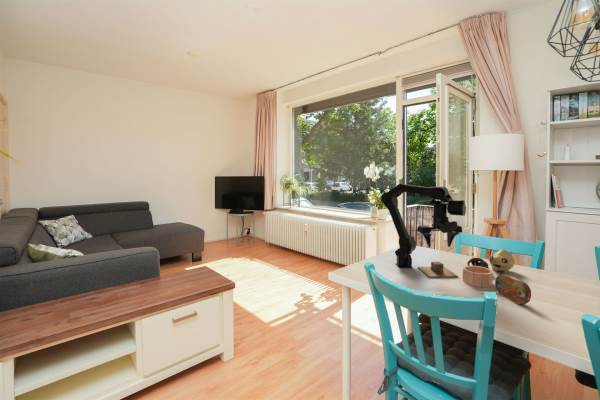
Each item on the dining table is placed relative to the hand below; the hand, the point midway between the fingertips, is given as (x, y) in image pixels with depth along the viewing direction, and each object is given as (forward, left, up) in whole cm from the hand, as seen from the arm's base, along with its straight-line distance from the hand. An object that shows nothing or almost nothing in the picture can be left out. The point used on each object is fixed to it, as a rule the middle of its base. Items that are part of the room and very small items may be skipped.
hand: (439, 247), depth 143 cm
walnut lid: (-1, 0, -12) cm, 12 cm away
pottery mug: (+20, +2, -13) cm, 24 cm away
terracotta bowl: (+11, -12, -13) cm, 21 cm away
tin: (+15, -28, -13) cm, 34 cm away
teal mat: (-1, 0, -13) cm, 13 cm away
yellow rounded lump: (+31, +3, -13) cm, 34 cm away
